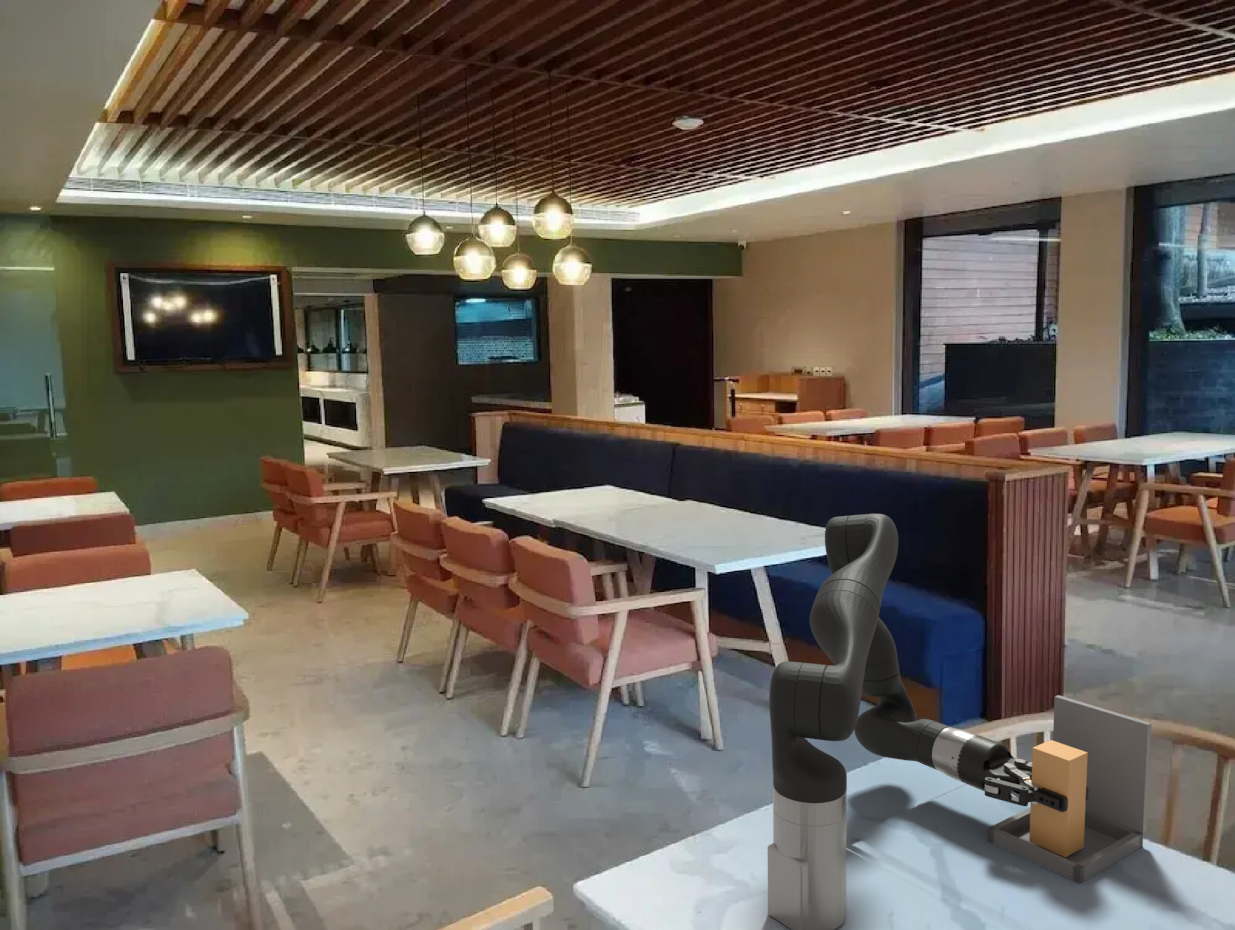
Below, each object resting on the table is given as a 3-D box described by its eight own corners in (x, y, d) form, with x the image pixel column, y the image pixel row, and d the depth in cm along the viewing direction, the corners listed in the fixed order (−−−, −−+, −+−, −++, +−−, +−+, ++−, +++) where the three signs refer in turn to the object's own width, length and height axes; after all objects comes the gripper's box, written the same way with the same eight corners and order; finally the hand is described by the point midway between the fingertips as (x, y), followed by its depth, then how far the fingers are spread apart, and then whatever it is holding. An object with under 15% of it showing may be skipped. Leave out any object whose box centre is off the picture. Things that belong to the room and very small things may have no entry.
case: (1079, 890, 132) (1084, 754, 129) (987, 847, 143) (990, 721, 141) (1145, 850, 141) (1151, 723, 139) (1054, 813, 153) (1058, 695, 150)
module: (1065, 857, 137) (1069, 760, 135) (1029, 841, 142) (1032, 747, 140) (1083, 847, 140) (1087, 752, 138) (1047, 832, 144) (1050, 739, 142)
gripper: (941, 746, 147) (1048, 788, 133) (999, 724, 155) (1106, 760, 141) (940, 794, 148) (1046, 841, 134) (998, 769, 156) (1103, 810, 142)
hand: (1076, 799), depth 137 cm, fingers closed on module, 4 cm apart
